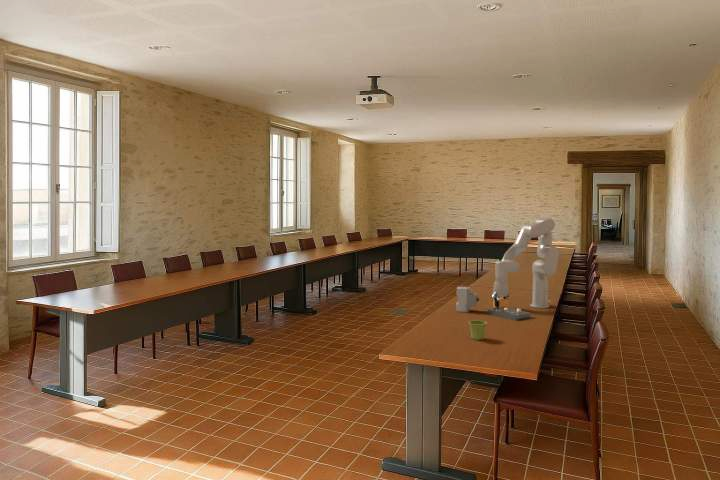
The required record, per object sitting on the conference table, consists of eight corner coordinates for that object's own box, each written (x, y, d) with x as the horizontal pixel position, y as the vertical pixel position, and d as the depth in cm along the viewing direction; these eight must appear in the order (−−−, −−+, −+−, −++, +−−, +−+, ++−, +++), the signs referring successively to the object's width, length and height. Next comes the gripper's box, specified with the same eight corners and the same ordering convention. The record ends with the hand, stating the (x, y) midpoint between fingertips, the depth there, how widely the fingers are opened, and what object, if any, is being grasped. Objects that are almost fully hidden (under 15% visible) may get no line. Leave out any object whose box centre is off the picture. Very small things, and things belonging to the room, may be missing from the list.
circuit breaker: (478, 312, 350) (479, 289, 348) (456, 311, 352) (456, 288, 351) (478, 310, 357) (479, 287, 356) (456, 309, 360) (456, 286, 358)
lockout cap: (500, 305, 367) (500, 297, 366) (508, 307, 361) (508, 299, 360) (493, 307, 363) (493, 299, 362) (501, 309, 357) (501, 300, 356)
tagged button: (505, 313, 348) (506, 307, 347) (508, 313, 346) (509, 308, 345) (503, 313, 346) (503, 308, 346) (506, 314, 344) (506, 308, 344)
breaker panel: (502, 311, 355) (503, 306, 354) (530, 317, 336) (530, 312, 336) (487, 313, 347) (487, 308, 346) (515, 320, 329) (515, 315, 328)
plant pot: (466, 339, 284) (466, 323, 283) (470, 335, 293) (470, 319, 292) (484, 341, 280) (485, 325, 280) (488, 337, 289) (488, 321, 288)
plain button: (518, 313, 339) (518, 308, 339) (521, 314, 337) (521, 309, 337) (515, 314, 338) (516, 308, 338) (519, 315, 336) (519, 309, 336)
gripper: (505, 277, 368) (505, 303, 370) (487, 280, 358) (487, 306, 360) (514, 278, 362) (514, 305, 364) (496, 281, 352) (496, 308, 354)
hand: (500, 305), depth 362 cm, fingers closed on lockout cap, 7 cm apart
